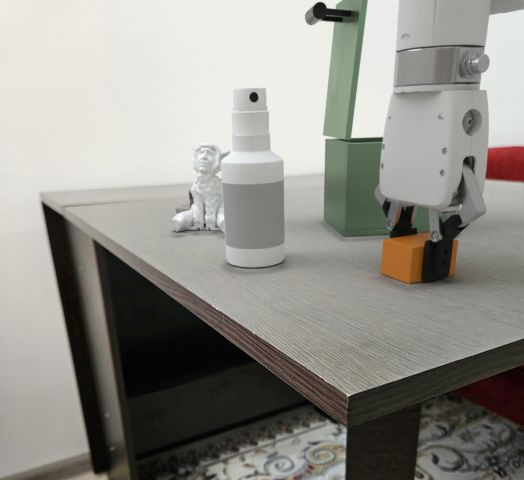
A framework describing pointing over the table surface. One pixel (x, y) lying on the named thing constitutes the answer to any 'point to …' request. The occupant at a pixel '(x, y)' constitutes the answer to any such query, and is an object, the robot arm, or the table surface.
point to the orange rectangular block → (408, 257)
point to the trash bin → (358, 188)
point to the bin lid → (342, 62)
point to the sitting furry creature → (204, 192)
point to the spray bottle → (252, 186)
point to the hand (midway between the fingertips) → (417, 270)
